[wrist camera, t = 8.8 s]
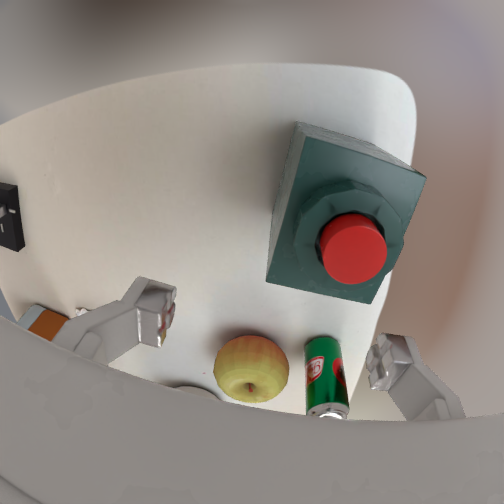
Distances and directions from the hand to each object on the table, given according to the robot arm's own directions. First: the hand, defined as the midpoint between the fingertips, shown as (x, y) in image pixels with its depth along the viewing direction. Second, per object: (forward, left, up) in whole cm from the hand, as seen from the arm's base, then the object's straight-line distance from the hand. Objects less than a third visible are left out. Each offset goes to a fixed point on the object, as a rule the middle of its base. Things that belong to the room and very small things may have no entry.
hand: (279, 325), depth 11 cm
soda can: (+21, +11, -21) cm, 32 cm away
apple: (+24, +2, -21) cm, 32 cm away
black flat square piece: (+12, -41, -21) cm, 47 cm away
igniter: (-1, +4, -21) cm, 21 cm away
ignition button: (-1, +4, -7) cm, 8 cm away
